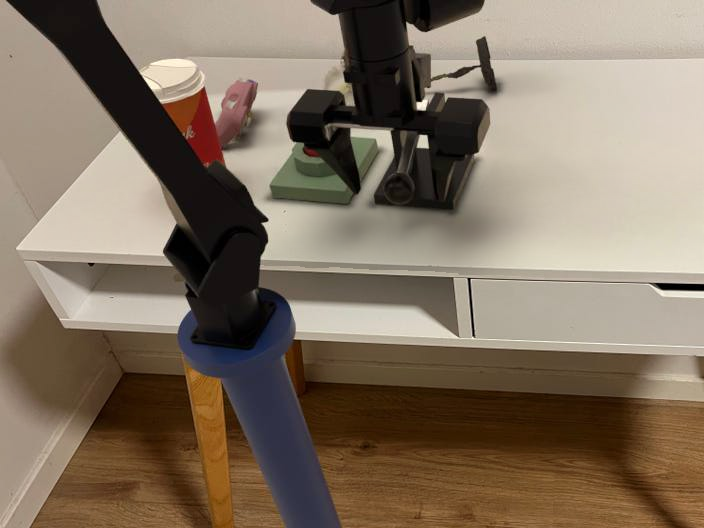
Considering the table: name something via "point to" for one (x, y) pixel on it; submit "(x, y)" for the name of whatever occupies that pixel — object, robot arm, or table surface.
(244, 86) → the pink toy car
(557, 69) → the table surface
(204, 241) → the robot arm
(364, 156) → the control block
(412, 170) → the bracket
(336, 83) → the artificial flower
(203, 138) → the paper cup
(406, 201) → the lever
